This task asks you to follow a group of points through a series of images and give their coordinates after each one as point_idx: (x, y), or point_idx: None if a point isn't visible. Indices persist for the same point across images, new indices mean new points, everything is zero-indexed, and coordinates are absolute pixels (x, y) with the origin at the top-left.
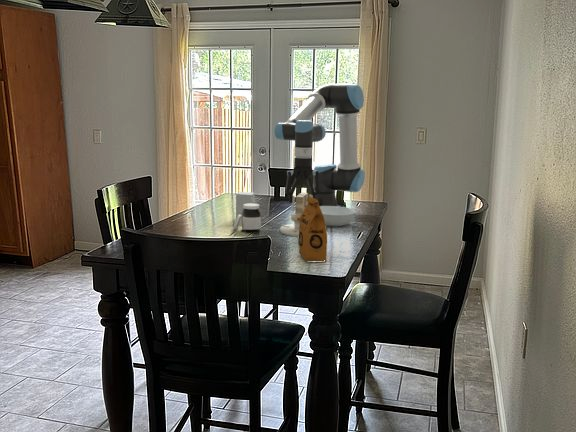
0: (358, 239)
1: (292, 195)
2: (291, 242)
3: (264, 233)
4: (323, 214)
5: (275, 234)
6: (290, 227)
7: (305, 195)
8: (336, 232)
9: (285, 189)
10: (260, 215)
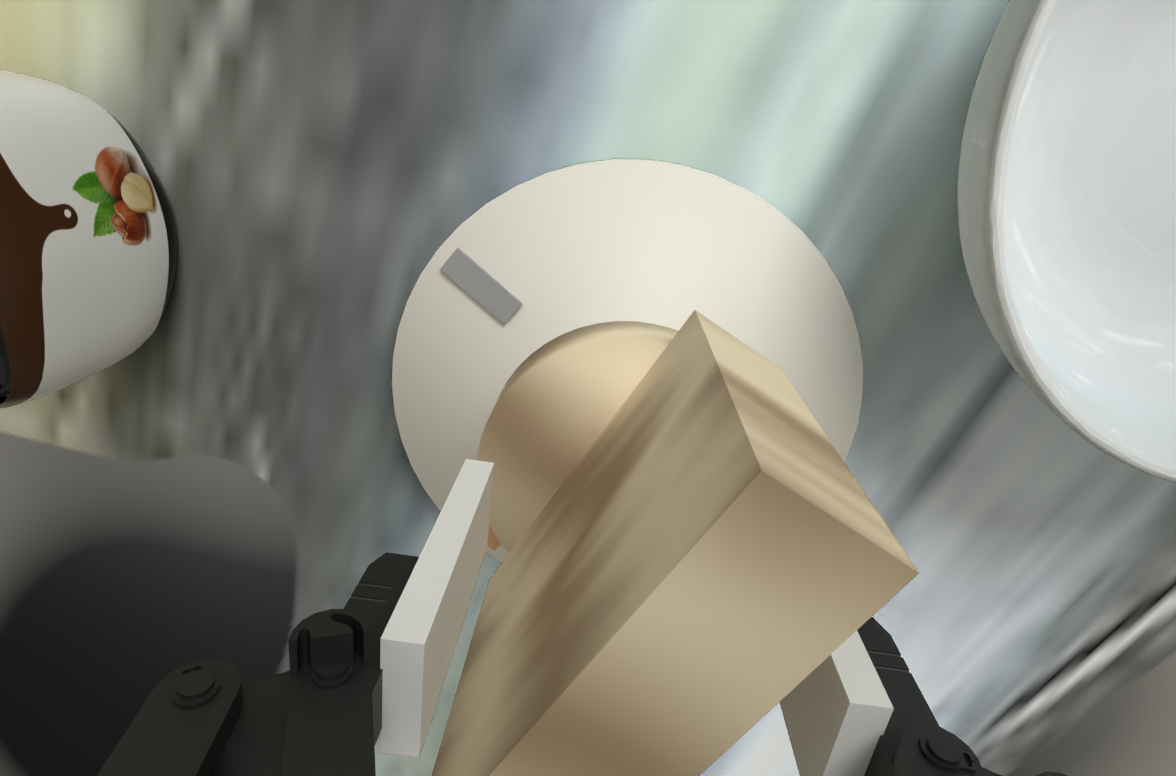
0: (979, 748)
1: (376, 731)
2: None
3: (226, 361)
4: (1033, 384)
5: (331, 427)
6: (519, 338)
7: (692, 770)
8: (963, 510)
9: (114, 770)
10: (27, 376)
